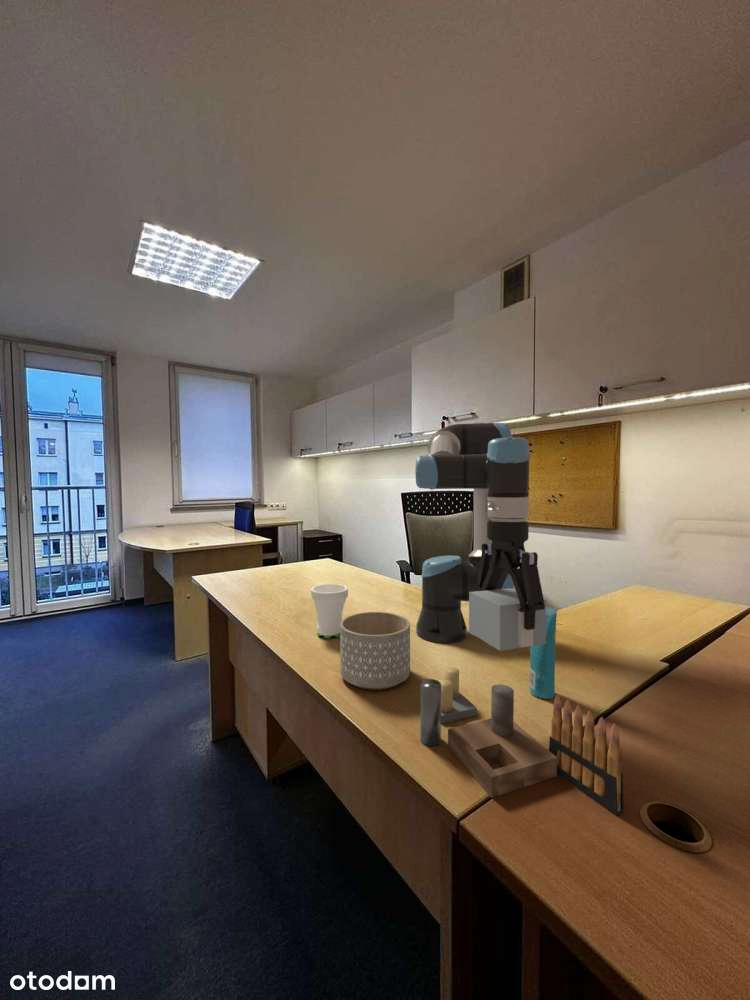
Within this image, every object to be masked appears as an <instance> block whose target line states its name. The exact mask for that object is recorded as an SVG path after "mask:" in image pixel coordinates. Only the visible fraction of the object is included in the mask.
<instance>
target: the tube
mask: <svg viewBox="0 0 750 1000" xmlns="http://www.w3.org/2000/svg"><path fill="white" fill-rule="evenodd" d="M557 613H558V610H557V609H554V608H551V607H549V606H546V644H543V645H536V646H529V648H530V649H529V650H530V655H529V656H530V658H529V660H530V661H529V664H530V665H529V692H530V694H533V696H534V697H536V698H538V697H539V699H542V698H543V700H544V699H545V700H549V699H550V700H551V699H553V698H555V696H556V695H555V691H556V689H555V688H556V687H555V679H556V678H555V677H556V674H555V673H556V668H555V667H556V638H557V637H556V636H557V635H556V634H557V633H556V632H557V631H556V630H557V615H558V614H557Z"/></svg>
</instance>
